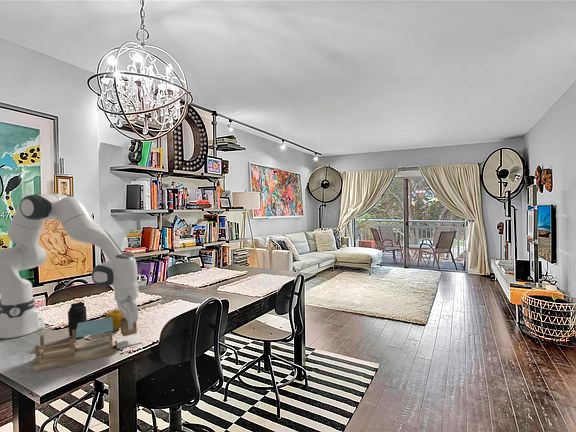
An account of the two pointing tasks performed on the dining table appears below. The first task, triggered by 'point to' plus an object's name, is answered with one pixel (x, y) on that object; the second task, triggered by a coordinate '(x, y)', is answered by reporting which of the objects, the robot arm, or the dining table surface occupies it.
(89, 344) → the beige notched bar
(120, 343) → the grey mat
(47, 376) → the dining table surface
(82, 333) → the sliding lid
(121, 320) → the walnut block
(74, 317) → the black bottle
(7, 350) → the dining table surface
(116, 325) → the apple
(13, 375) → the dining table surface
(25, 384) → the dining table surface
